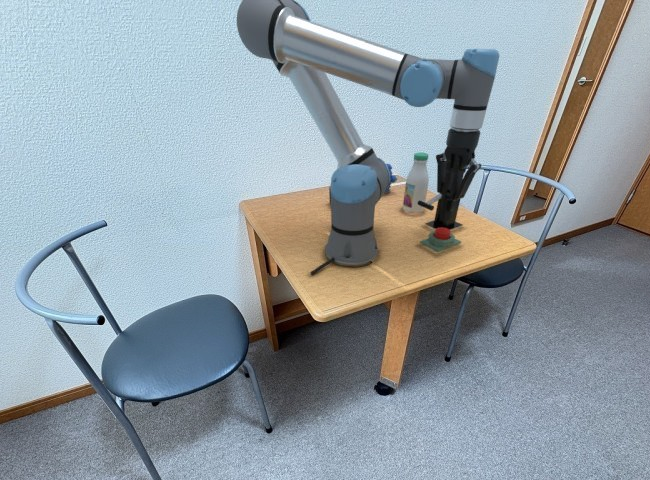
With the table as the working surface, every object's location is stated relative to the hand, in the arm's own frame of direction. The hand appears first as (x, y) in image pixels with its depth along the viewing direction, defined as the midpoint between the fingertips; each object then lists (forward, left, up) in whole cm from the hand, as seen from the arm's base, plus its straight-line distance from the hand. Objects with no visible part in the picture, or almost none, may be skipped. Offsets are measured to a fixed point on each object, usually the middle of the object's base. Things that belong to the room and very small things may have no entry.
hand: (444, 220), depth 93 cm
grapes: (+17, +44, -9) cm, 48 cm away
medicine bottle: (-7, +43, -9) cm, 44 cm away
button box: (0, 0, -8) cm, 8 cm away
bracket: (+11, +8, -8) cm, 16 cm away
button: (0, 0, -5) cm, 5 cm away
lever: (+7, +8, +2) cm, 11 cm away
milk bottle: (+12, +24, -9) cm, 28 cm away
